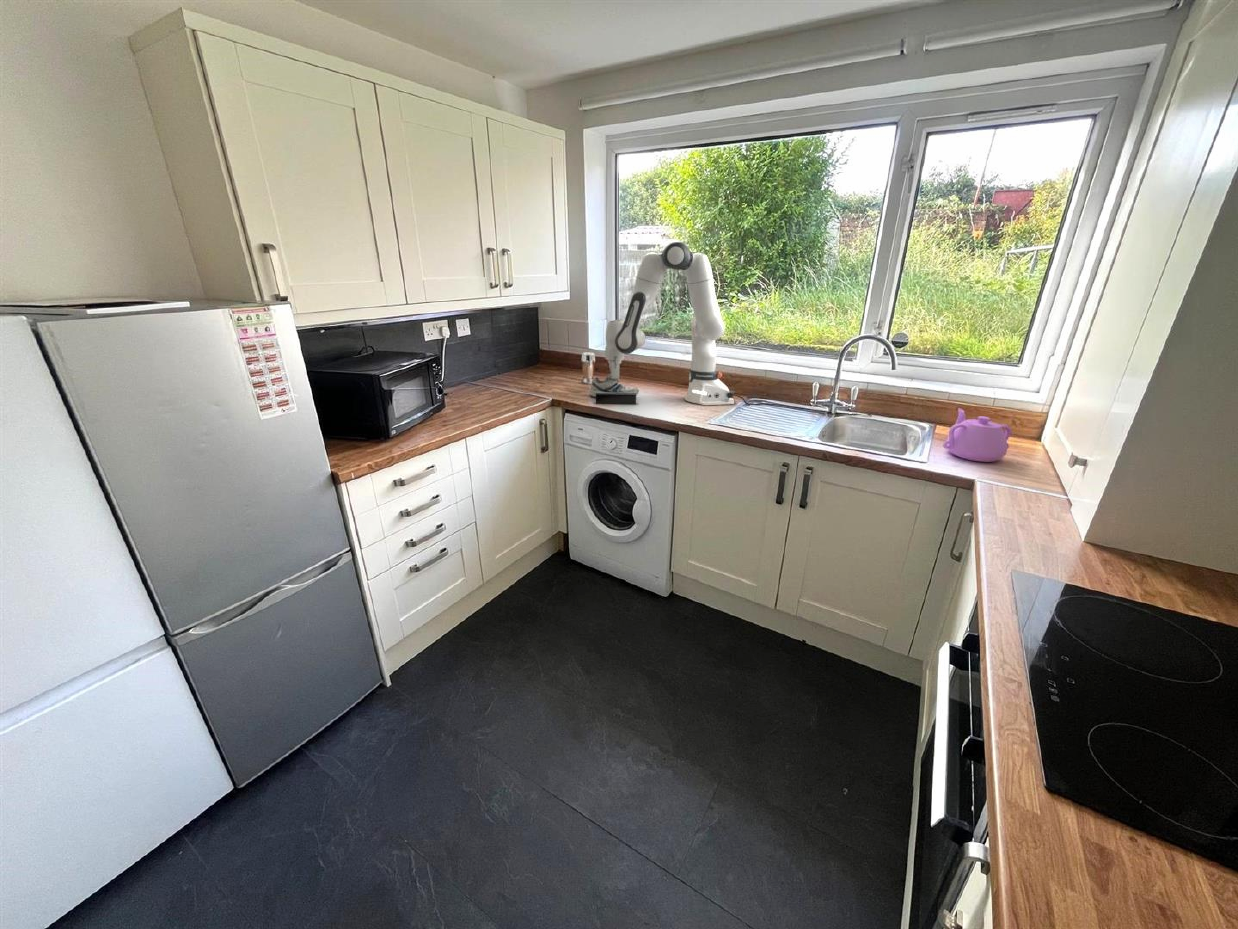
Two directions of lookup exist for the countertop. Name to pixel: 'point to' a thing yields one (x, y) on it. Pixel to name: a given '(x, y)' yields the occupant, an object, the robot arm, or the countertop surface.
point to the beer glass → (588, 367)
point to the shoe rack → (615, 397)
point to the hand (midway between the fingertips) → (613, 384)
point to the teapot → (977, 439)
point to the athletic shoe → (609, 386)
